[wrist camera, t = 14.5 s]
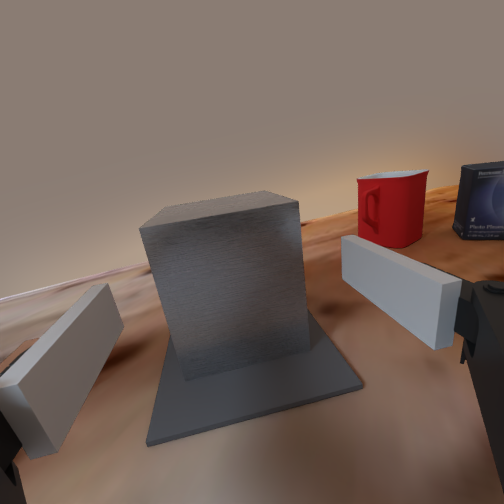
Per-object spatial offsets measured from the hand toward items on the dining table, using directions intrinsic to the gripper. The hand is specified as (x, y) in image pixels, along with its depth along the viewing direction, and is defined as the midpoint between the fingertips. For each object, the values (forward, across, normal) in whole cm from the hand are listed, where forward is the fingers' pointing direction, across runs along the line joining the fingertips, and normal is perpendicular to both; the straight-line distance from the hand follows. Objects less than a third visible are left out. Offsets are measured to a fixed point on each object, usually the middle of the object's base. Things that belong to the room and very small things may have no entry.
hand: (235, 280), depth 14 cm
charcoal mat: (+8, 0, -9) cm, 12 cm away
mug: (+22, +26, -9) cm, 36 cm away
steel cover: (+8, 0, -9) cm, 12 cm away
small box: (+16, +41, -9) cm, 45 cm away
